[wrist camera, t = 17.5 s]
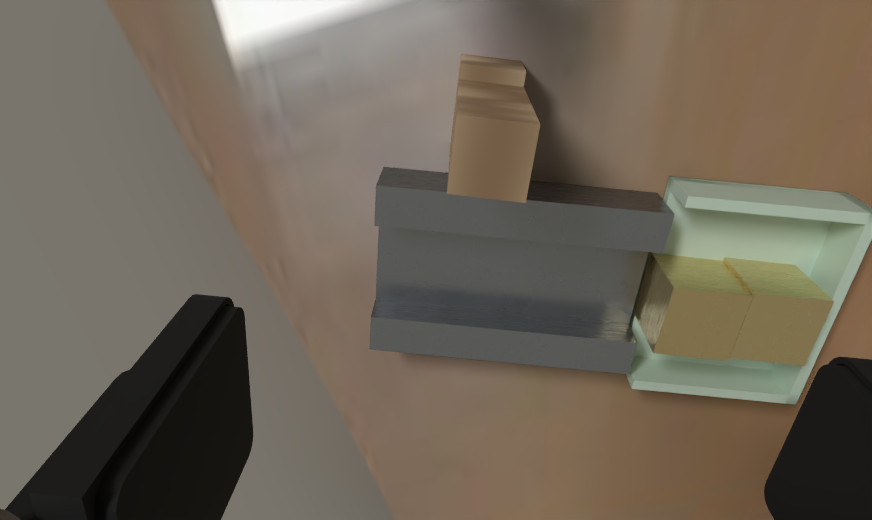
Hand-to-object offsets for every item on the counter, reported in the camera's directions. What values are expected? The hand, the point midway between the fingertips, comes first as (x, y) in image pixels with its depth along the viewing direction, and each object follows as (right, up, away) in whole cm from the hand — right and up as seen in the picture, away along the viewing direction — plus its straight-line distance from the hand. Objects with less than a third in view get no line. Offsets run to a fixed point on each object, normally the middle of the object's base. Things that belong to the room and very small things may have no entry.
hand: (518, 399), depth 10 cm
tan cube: (+13, +1, +24) cm, 27 cm away
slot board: (+3, +2, +25) cm, 25 cm away
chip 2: (+17, 0, +24) cm, 29 cm away
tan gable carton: (+1, +10, +21) cm, 23 cm away
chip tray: (+16, +1, +25) cm, 29 cm away
